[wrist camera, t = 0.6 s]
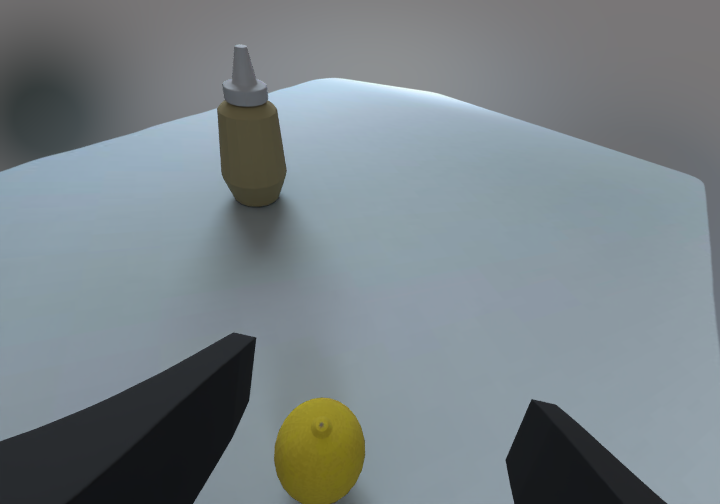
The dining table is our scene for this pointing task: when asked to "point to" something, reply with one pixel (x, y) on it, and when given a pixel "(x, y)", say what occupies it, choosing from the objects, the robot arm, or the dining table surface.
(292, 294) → the dining table surface
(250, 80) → the squeeze bottle
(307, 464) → the lemon
